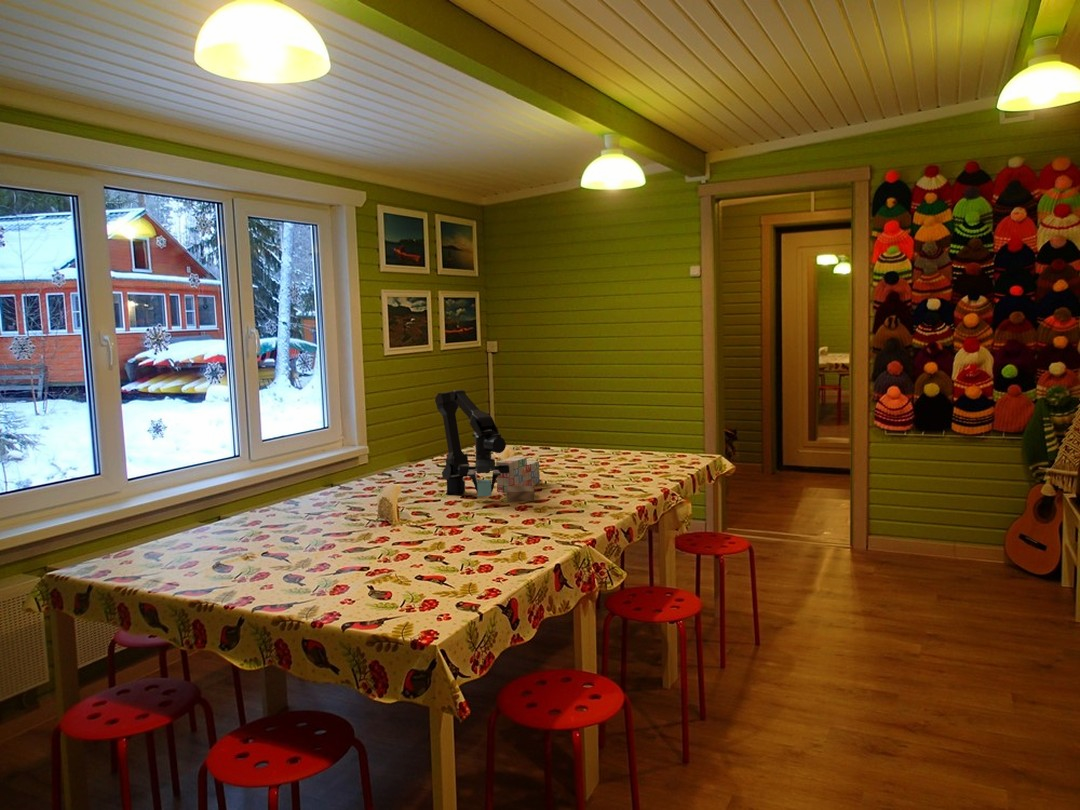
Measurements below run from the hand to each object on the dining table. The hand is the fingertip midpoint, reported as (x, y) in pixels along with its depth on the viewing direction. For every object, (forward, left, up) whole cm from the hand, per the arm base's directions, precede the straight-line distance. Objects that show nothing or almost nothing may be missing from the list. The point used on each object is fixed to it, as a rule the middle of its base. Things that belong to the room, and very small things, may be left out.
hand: (484, 491), depth 299 cm
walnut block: (+13, +4, -4) cm, 14 cm away
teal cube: (0, 0, -1) cm, 1 cm away
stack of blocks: (+13, +23, -4) cm, 27 cm away
